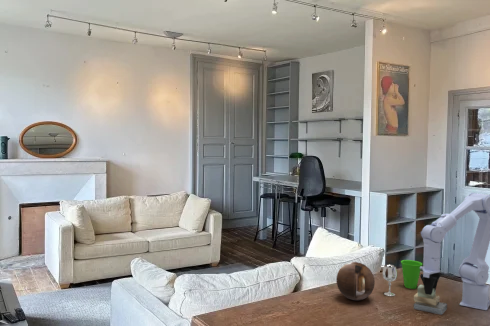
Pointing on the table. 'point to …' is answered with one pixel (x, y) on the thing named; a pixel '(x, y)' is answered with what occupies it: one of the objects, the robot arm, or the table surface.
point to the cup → (411, 273)
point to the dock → (431, 307)
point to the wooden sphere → (355, 281)
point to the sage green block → (426, 296)
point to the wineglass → (389, 276)
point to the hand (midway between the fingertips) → (430, 292)
